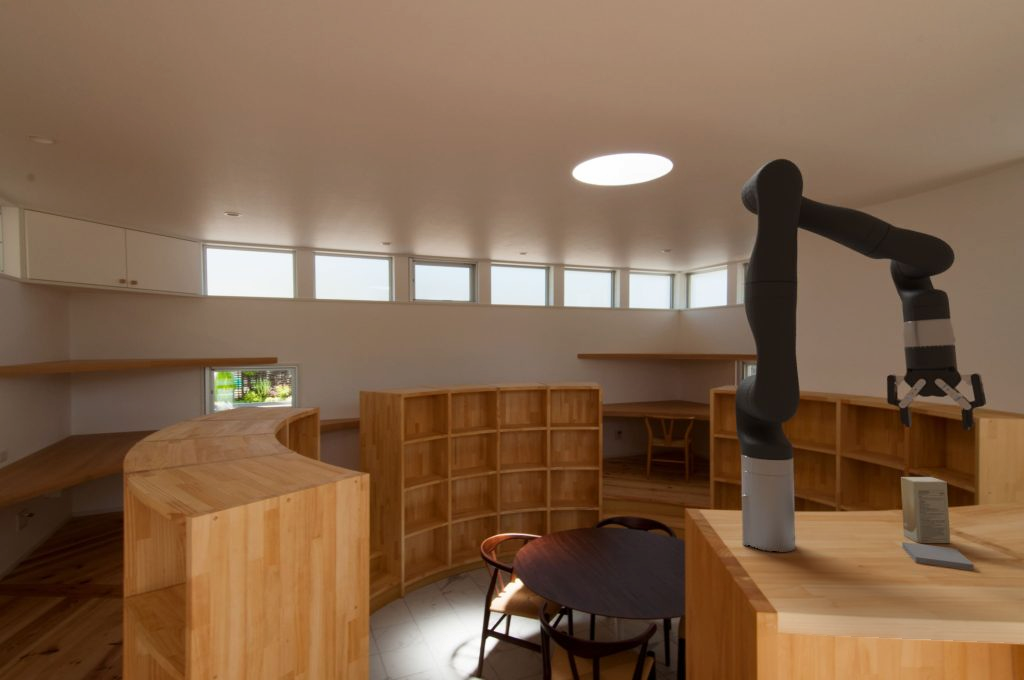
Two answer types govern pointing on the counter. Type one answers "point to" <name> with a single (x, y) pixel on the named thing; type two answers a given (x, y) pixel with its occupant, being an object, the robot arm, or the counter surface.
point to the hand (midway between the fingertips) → (936, 428)
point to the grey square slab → (937, 556)
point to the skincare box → (925, 509)
